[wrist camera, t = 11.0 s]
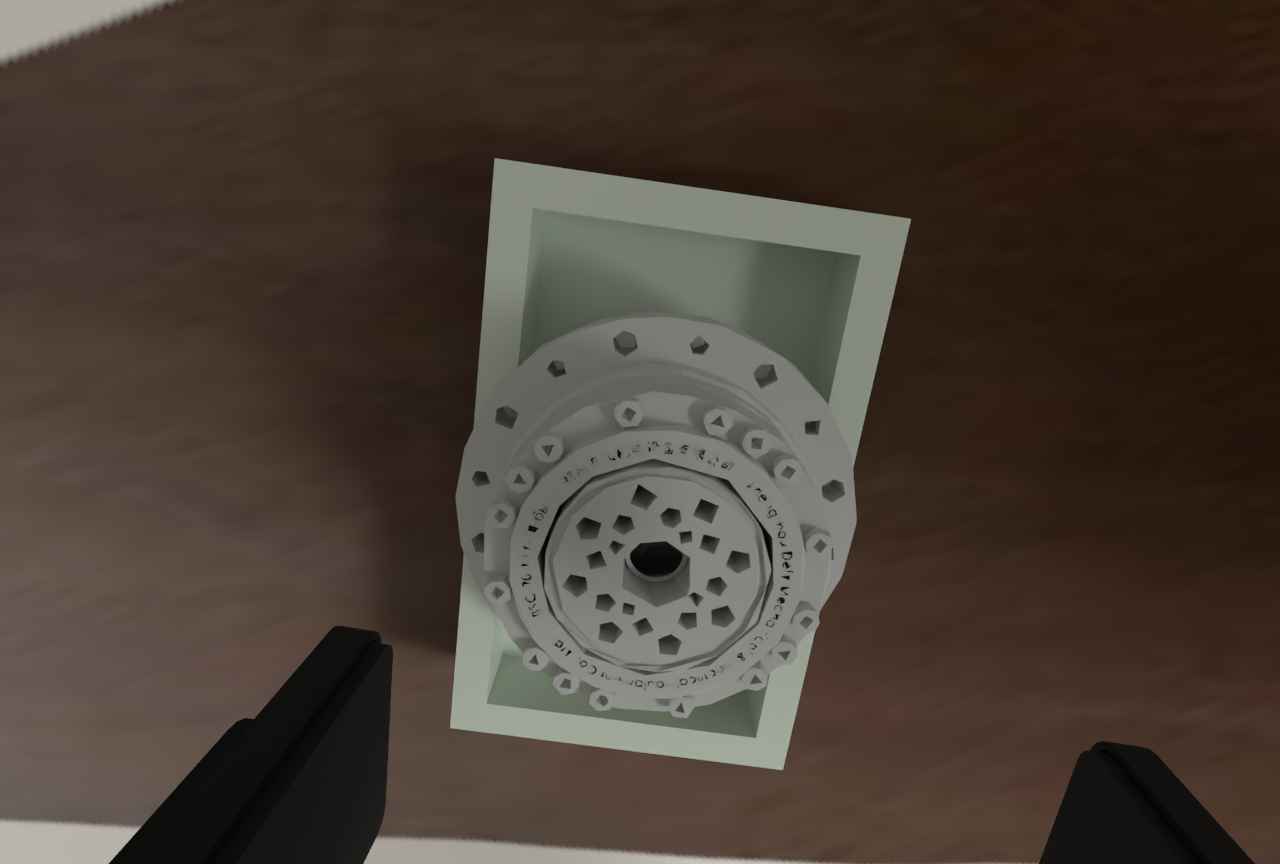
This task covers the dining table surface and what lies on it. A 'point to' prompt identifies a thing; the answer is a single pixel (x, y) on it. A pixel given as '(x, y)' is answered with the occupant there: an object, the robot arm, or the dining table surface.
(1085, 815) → the robot arm
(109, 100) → the dining table surface
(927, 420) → the dining table surface
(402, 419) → the dining table surface
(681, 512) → the mechanical component
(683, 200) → the tray
